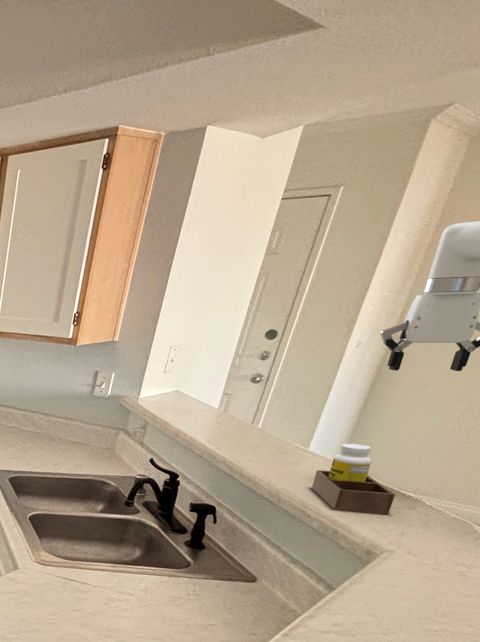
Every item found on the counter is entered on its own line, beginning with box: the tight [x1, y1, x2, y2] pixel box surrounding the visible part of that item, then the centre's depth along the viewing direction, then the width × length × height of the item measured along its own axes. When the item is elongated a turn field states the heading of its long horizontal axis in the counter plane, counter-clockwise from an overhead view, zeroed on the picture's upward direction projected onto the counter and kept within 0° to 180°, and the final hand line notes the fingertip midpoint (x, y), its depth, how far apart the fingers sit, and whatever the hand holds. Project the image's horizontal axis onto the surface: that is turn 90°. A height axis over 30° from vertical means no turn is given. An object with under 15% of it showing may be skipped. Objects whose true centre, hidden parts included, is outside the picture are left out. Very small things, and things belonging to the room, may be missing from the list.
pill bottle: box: [328, 443, 372, 482], centre depth 135 cm, size 6×6×11 cm
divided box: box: [311, 469, 396, 515], centre depth 133 cm, size 9×17×5 cm, turn 151°
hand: (424, 370), depth 128 cm, fingers open, 9 cm apart
